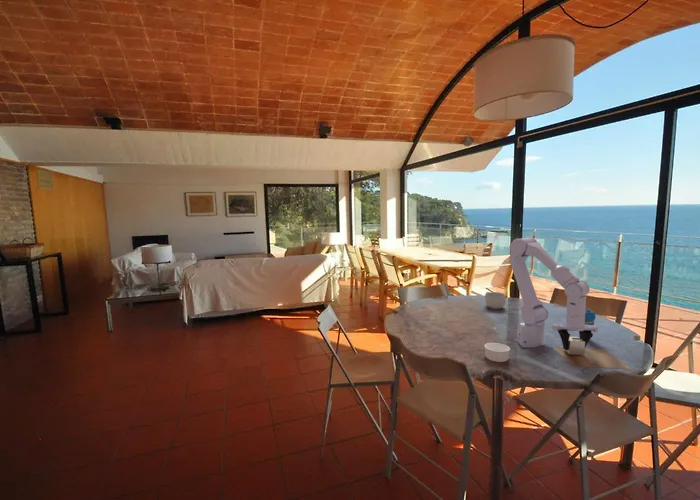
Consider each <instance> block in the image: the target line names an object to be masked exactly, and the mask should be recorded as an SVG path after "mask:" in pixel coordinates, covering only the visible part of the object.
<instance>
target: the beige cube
mask: <svg viewBox="0 0 700 500" xmlns="http://www.w3.org/2000/svg"><path fill="white" fill-rule="evenodd" d="M562 348H563V347H562ZM563 349H564V348H563ZM585 349H586V347H585V341H583V340H582V339H581V338H580V336H572V335H570V337H569V342H568V350H565V349H564V350H565V351H566V352H567V353H569V354H575V355H584V353H585Z"/></svg>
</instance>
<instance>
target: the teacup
mask: <svg viewBox="0 0 700 500" xmlns="http://www.w3.org/2000/svg"><path fill="white" fill-rule="evenodd" d="M484 296H485V297H484V298H485V300H484V301H485V305H486V306H487V307H488V308H489V309H493V310H501V309H503V308H504V307H505V305H506V301H507V300H506V298H507V297H506V296H507V295H506V294H505V293H503V292H498V291H486V292H485V293H484Z"/></svg>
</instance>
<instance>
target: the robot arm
mask: <svg viewBox="0 0 700 500" xmlns="http://www.w3.org/2000/svg"><path fill="white" fill-rule="evenodd" d="M509 250H510V253H509V263H510V266H511V269H512V272H513V275H514V276H513V277H514V279H515V282H516V284H517V288H518V290H519V294H520V297H521V300H522V303H521V306H520V310H521V319H522V321H523V322H519V323H517V327H516V328H517V331H516V335H517V336H516V342H517V343H518V344H519V346H521V348H530V349H531V348H532V349H533V348H536V347H540V346H544V345H545V343H544V342H545V323H546V320H548V318H549V311H548V310H547V308H546V307H545V306H544V304H543V302H542V301H541V300H540V299H539V298H538V297H537V296H538V295H537V294H536V290H535V287H534V285H533V281H532V279H531V276H530V272H529V269H528V267H527V265H526V262H527V260H528V258H529V257H535V259H537V260H538V261H539V262H540V263H541V264H542V265H544V266H545V267H546V268H547V269H548V270H550V276H551V277H552V278H553V279H554V280H555V281H556V282H557V283H558V284H559V285H560V286H561V287H562V288H563V289H564V294H565V296H566V297H567V298H566V317H565V318H566V319H565V322H564V323H563V322H562V323H552V327H551V328H552V330H554V331H557V333H558V334H559V336H560V340H561V343H562V348H564V349H565V350H568V342H569V337H570V336H571V334H570V333H569V331H570V332H571V331H572V332H578V334H579V338H581V339H582V340H583V341H585V348H586V347H587V344H588V343H589V341H590V340H591V338H592V337H593V336H594V335H593V334H594V333H598V332H599V327H598V325H585V310H586V307H587V306H586V305H587V303H586V302H587V295H588V294H589V293H590V286H589V285H588V283H587V282H586V281H584V280H580V278H579V277H576V276H575V275H574V273H573V272H571V271H570V270H571V269H570V267H568V266H565V265H560V264H558V262H557V261H556V260H554V259H553V257H552V256H551V255H550V254H549V253H548V252H547V251H546V250H545V249H544V247H543V246H542V245H541V243H540V242H539V241H537V239H535V238H534V237H530V236H529V237H525V238H524V237H523V238H522V237H521V238H519V237H518V238H515V239H513V240H512V242H511V243H510V245H509ZM591 331H592V332H591ZM593 332H594V333H593Z"/></svg>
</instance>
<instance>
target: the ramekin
mask: <svg viewBox="0 0 700 500" xmlns="http://www.w3.org/2000/svg"><path fill="white" fill-rule="evenodd" d="M483 347H484V354H485V358H486V359H487V360H490V361H491V362H495V363H505V362H507V361H508V360H509V358H510V357H509V356H510V351H511V347H509V346H508V345H507V344H503V343H499V342H487V343H485V344H484V346H483Z"/></svg>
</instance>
